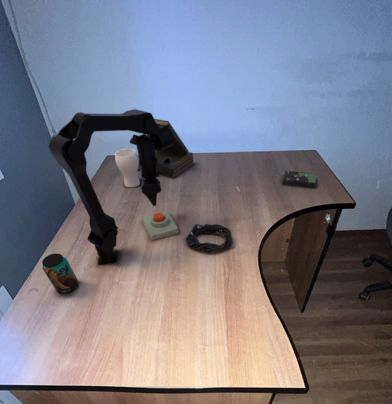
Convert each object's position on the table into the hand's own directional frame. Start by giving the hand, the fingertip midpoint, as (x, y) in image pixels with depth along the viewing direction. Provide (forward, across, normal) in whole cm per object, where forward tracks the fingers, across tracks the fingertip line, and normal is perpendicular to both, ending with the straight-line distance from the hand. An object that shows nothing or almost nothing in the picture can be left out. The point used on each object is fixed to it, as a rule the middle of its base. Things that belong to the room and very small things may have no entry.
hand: (154, 199), depth 98 cm
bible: (+12, +56, -6) cm, 58 cm away
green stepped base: (+12, 0, -1) cm, 12 cm away
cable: (+12, -14, -18) cm, 26 cm away
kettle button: (+8, 0, -1) cm, 9 cm away
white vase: (+12, +40, +12) cm, 43 cm away
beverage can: (+12, -29, +30) cm, 43 cm away
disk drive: (+12, +26, -69) cm, 75 cm away
